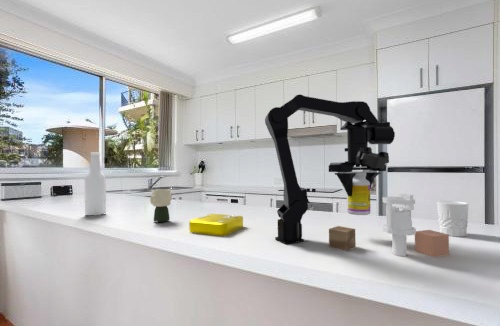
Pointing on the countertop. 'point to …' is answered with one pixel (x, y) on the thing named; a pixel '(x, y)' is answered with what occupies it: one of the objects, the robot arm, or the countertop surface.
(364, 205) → the supplement bottle
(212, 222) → the element tile
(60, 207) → the countertop surface
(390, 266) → the countertop surface
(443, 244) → the terracotta block
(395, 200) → the white stepped column
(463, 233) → the white cup
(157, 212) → the cream and green figurine
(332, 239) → the walnut block
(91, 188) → the alcohol
